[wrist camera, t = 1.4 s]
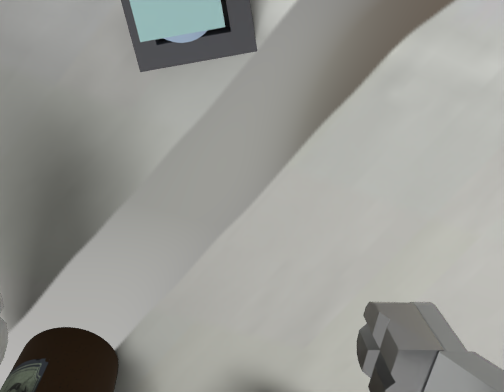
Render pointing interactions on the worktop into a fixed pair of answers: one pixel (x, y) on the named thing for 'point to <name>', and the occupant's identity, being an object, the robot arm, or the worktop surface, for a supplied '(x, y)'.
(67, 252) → the worktop surface
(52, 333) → the olive oil
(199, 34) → the plug
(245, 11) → the holster
